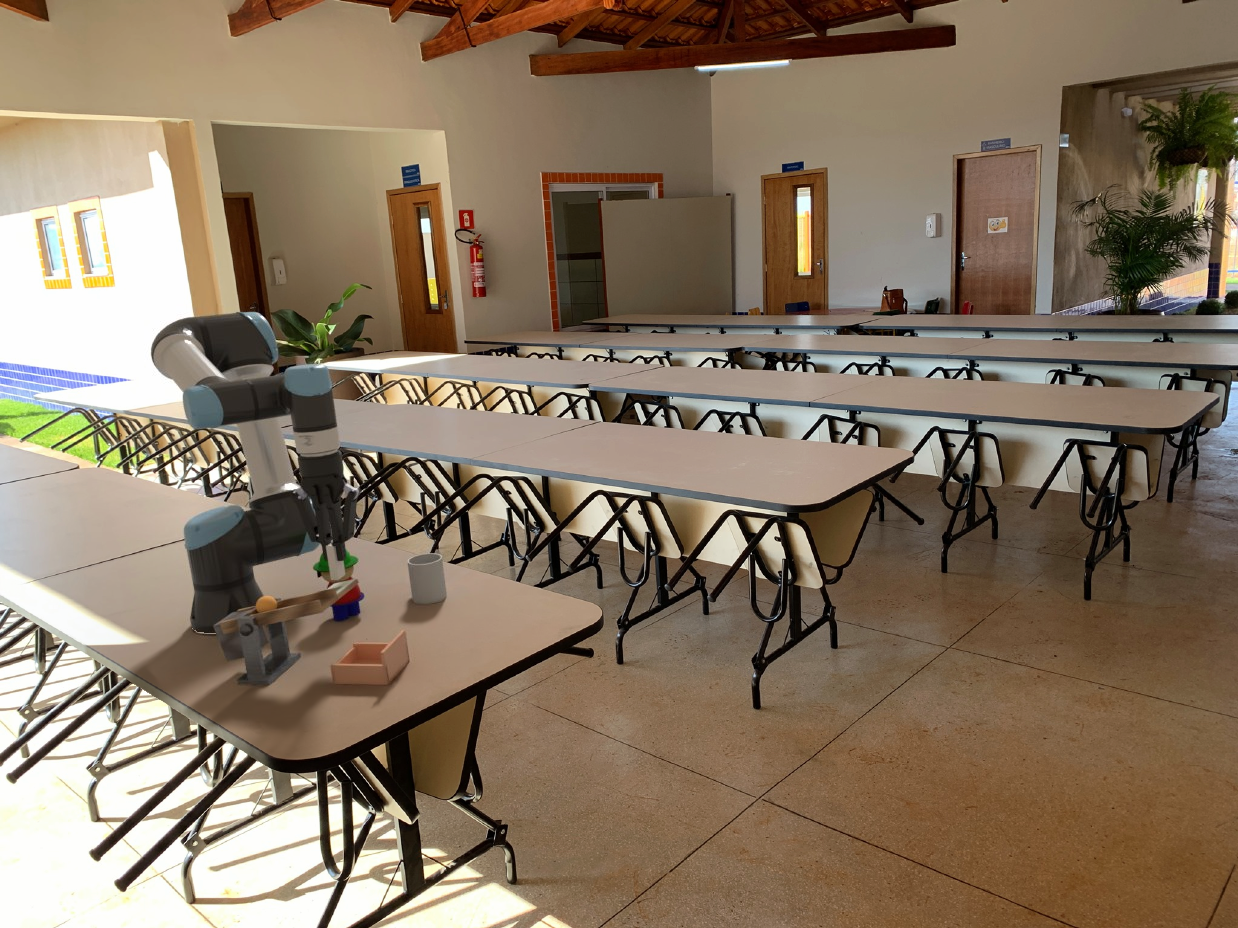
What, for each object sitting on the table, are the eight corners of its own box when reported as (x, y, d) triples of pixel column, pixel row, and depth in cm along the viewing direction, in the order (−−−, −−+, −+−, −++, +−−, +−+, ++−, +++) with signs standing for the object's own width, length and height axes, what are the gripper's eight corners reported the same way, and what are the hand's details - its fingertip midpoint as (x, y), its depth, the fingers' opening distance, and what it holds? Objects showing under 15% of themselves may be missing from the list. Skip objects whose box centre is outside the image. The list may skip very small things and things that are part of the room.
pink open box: (333, 683, 157) (328, 651, 156) (357, 659, 166) (352, 629, 164) (388, 684, 155) (383, 652, 154) (409, 660, 164) (405, 629, 163)
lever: (225, 662, 161) (210, 623, 160) (269, 629, 175) (255, 592, 174) (331, 640, 156) (316, 599, 155) (367, 607, 170) (354, 569, 169)
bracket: (237, 684, 159) (226, 620, 157) (271, 656, 170) (261, 596, 167) (268, 684, 158) (257, 620, 156) (300, 656, 169) (291, 596, 166)
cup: (422, 607, 189) (417, 567, 187) (400, 596, 196) (395, 557, 194) (453, 597, 193) (448, 557, 191) (430, 586, 201) (425, 548, 199)
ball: (256, 620, 160) (248, 602, 159) (267, 613, 163) (259, 595, 163) (273, 616, 159) (265, 598, 159) (283, 608, 163) (276, 590, 162)
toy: (333, 628, 181) (322, 557, 178) (314, 617, 188) (303, 548, 184) (373, 613, 187) (363, 544, 184) (354, 604, 193) (344, 537, 190)
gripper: (274, 458, 159) (295, 584, 164) (343, 455, 157) (362, 584, 162) (296, 448, 166) (315, 570, 171) (362, 446, 164) (380, 569, 169)
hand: (338, 577), depth 167 cm, fingers closed
